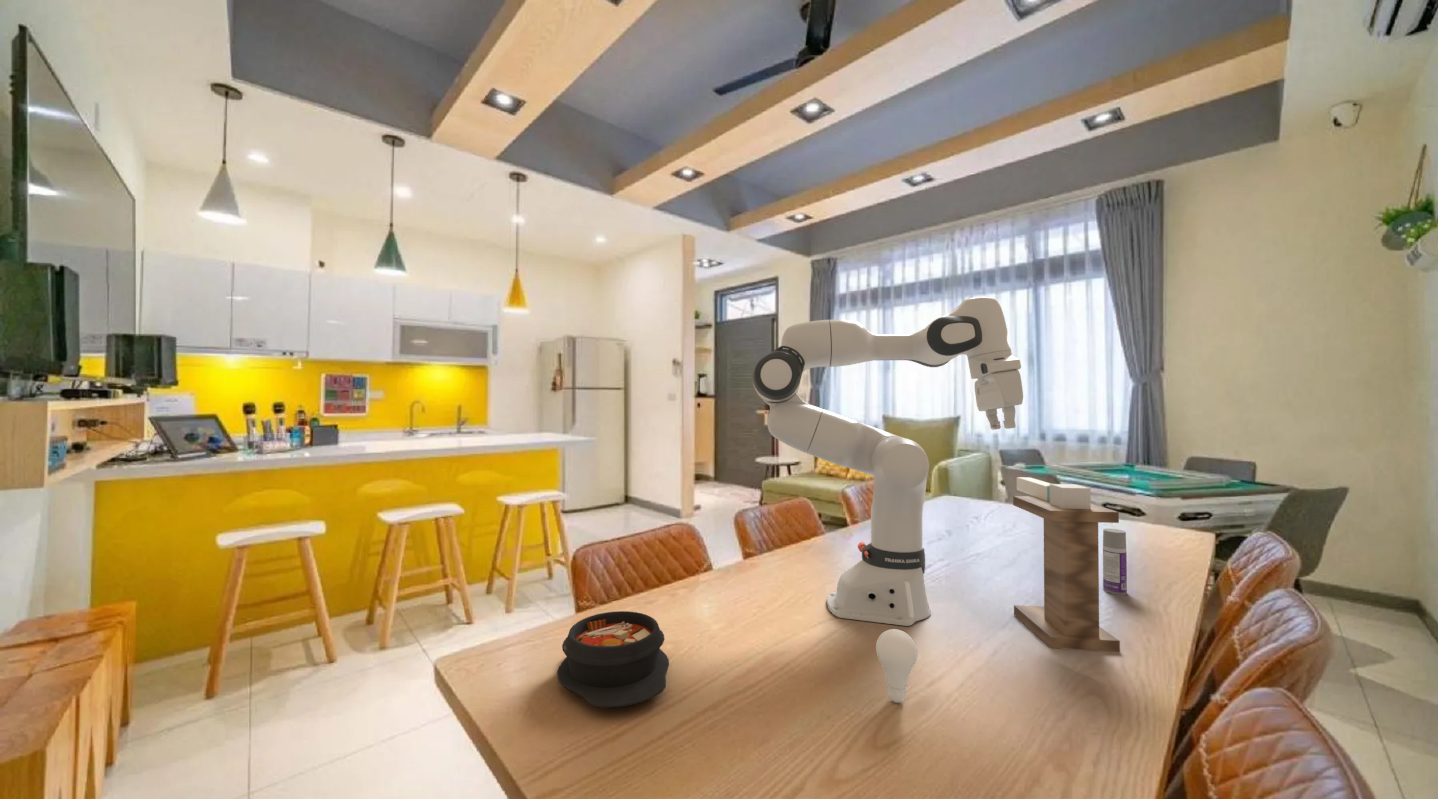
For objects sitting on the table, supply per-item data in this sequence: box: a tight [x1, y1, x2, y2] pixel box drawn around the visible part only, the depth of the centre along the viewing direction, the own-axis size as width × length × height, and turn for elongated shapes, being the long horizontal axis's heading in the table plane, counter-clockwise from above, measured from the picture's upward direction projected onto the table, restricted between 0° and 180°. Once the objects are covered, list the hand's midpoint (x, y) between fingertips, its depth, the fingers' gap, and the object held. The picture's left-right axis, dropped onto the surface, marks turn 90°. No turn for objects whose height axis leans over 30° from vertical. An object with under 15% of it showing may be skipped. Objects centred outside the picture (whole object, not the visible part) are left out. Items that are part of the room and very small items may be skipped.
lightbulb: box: [875, 628, 918, 704], centre depth 81 cm, size 6×6×11 cm
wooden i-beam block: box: [1012, 495, 1121, 653], centre depth 106 cm, size 12×16×26 cm
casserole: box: [556, 610, 670, 709], centre depth 89 cm, size 25×19×8 cm
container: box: [1102, 528, 1128, 596], centre depth 129 cm, size 5×5×15 cm
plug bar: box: [1016, 476, 1092, 509], centre depth 112 cm, size 5×22×4 cm, turn 173°
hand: (1002, 428), depth 116 cm, fingers open, 8 cm apart
